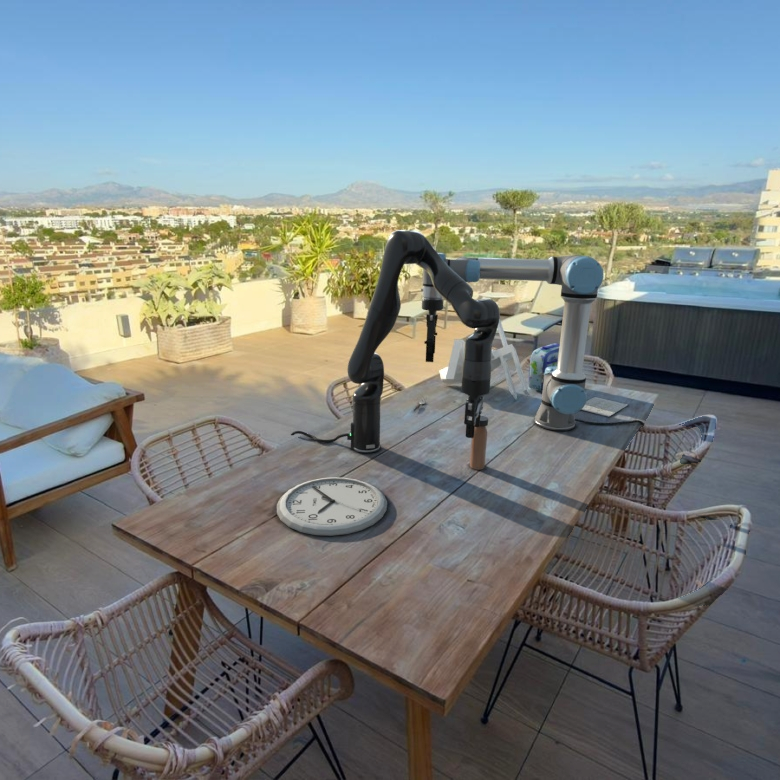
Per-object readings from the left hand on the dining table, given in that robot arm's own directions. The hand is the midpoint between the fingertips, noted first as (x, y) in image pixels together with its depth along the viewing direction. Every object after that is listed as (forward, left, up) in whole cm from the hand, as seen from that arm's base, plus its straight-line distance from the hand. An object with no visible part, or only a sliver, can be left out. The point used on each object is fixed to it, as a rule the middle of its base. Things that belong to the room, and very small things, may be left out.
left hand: (472, 431), depth 144 cm
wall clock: (-34, -20, -19) cm, 43 cm away
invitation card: (+38, +98, -19) cm, 107 cm away
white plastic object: (-15, +98, -19) cm, 101 cm away
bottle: (-1, +19, -19) cm, 27 cm away
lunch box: (+15, +119, -19) cm, 121 cm away
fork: (-35, +68, -19) cm, 79 cm away
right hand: (-25, +45, +9) cm, 52 cm away
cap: (-1, +19, -3) cm, 20 cm away
